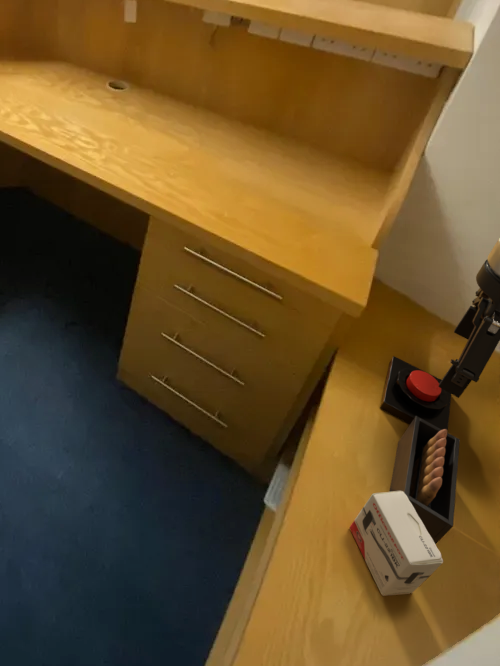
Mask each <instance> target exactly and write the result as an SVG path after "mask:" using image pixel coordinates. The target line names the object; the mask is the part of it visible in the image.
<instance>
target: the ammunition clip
mask: <svg viewBox="0 0 500 666" xmlns="http://www.w3.org/2000/svg"><path fill="white" fill-rule="evenodd" d="M446 437H447V429H443V430H441V431H439V432H438V433H437V434H436V435H435V436H434V437H433V438H431V439H430V440H429V441H428V443H427V444H426V445H423V446H422V447H421V448H420V450H419V451H418V452H417V454H416V455H415V456H414V463H413V470H412V477H411V484H410V490H409V496H410V497H412V498H414V499H415V500H417V501H419V502H420V503H422V504H424V505H425V506H427V507H428V508H429V507H430V502H431V501H432V500H433V499H434V498H435V496H436V493H437V492H438V490H439V489H440V487H441V485H442V478H441V477H442V475H443V465H444V455H445V446H446Z"/></svg>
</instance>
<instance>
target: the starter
mask: <svg viewBox="0 0 500 666" xmlns="http://www.w3.org/2000/svg"><path fill="white" fill-rule="evenodd" d="M416 370H419V371H423V372H426V373H428V374H430V375H431V376H433V377H434V378H435V379H436V380H437V381H438V383H440V382H441V380H442V379H441V378H439V377H437V376H435V375H434V374H431V373H429V372H427V371H425V370H422V369H421V368H419V367H417V366H414V365H412V364H411V363H409V362H407V361H405V360H402V359H401V358H399V357H397V356H395V355H393V356H392V358H391V359H390V361H389V364H388V369H387V373H386V378H385V381H384V386H383V392H382V397H381V401H380V404H379V405H380V406H379V409H381V410H383V411H384V412H386V413H388V414H390V415H392V416H393V417H395V418H397V419H399V420H401V421H402V422H403V423H406V424H408V425H410V424H411V423H412V421H413V420H414V418H415V417H416V416H417V417H419V418H421V419H423V420H425V421H427V422H428V423H430V424H432V425H434V426H436V427H438V428H440V429H441V430H443V429H447V433H449V423H450V413H451V402H452V394H450V393H449V392H447V391H445V390H443V389H442V388H441V393H440V395H439V396H438V398H437V399H436V400H435V401H433V402H426V401H423V400H421V399H419V398H417V397H416V396H415V395H413V394H412V393H411V392H410V390H409V389H408V387H407V384H406V380H407V378H408V377H409V375H410V374H411V372H413V371H416Z"/></svg>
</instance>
